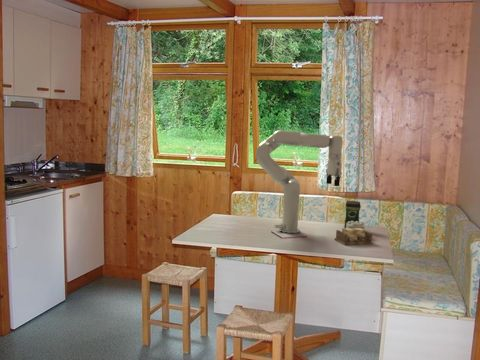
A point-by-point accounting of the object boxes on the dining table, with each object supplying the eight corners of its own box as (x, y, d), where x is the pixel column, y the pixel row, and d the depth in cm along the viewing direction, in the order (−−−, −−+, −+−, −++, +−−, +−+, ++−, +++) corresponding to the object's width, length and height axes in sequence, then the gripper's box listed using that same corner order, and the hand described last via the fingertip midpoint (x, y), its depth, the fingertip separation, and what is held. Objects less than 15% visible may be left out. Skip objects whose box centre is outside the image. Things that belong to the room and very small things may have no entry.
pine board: (360, 234, 289) (360, 228, 289) (364, 236, 285) (365, 229, 284) (341, 235, 286) (342, 228, 285) (346, 237, 281) (346, 230, 281)
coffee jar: (359, 229, 321) (361, 200, 319) (358, 231, 314) (360, 202, 311) (344, 227, 324) (346, 199, 322) (343, 230, 316) (345, 201, 314)
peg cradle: (344, 245, 277) (345, 234, 276) (334, 239, 288) (335, 229, 288) (372, 244, 283) (373, 233, 282) (361, 239, 294) (362, 229, 293)
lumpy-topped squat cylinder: (347, 237, 296) (348, 223, 295) (344, 232, 309) (345, 219, 308) (364, 238, 296) (366, 224, 294) (361, 233, 308) (362, 220, 307)
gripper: (347, 158, 290) (345, 187, 292) (333, 155, 306) (331, 182, 308) (336, 157, 288) (334, 186, 290) (322, 155, 304) (320, 182, 306)
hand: (332, 184), depth 299 cm, fingers open, 9 cm apart
